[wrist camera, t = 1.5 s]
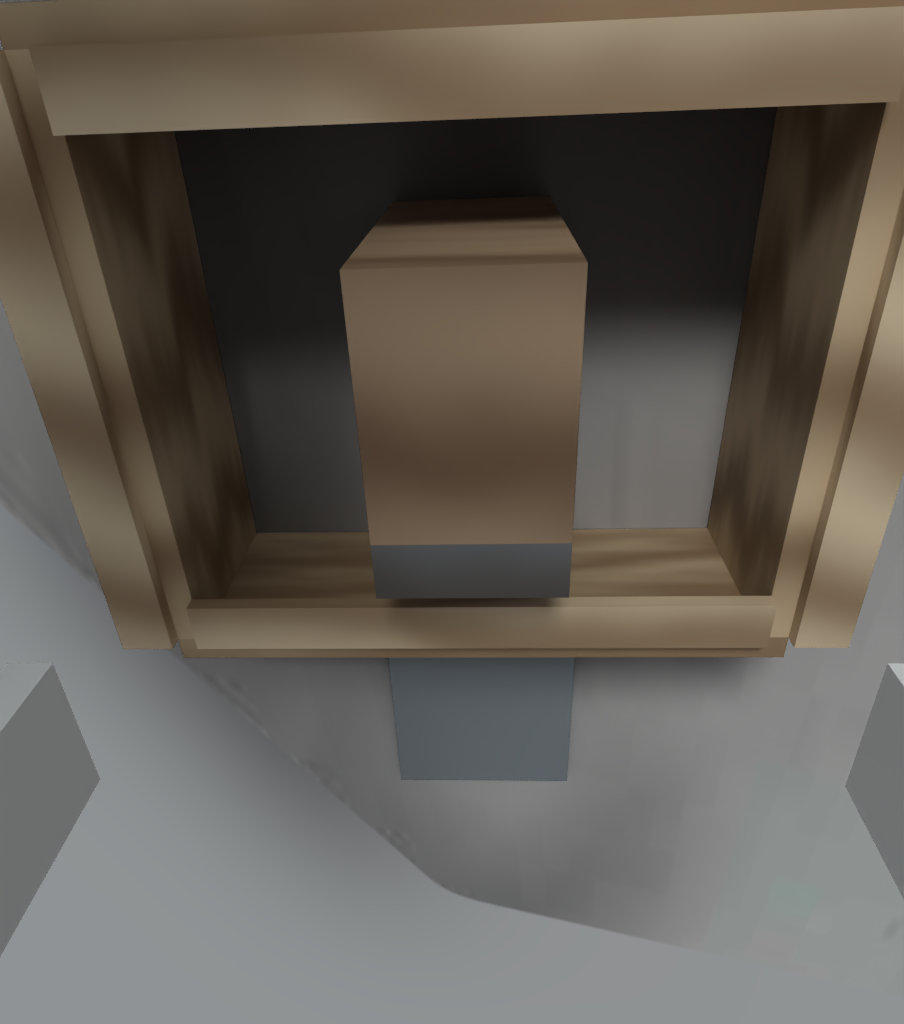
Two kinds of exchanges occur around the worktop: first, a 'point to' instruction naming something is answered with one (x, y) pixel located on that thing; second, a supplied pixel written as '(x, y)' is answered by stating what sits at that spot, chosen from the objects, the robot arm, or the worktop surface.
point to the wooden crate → (449, 96)
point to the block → (468, 395)
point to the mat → (483, 717)
